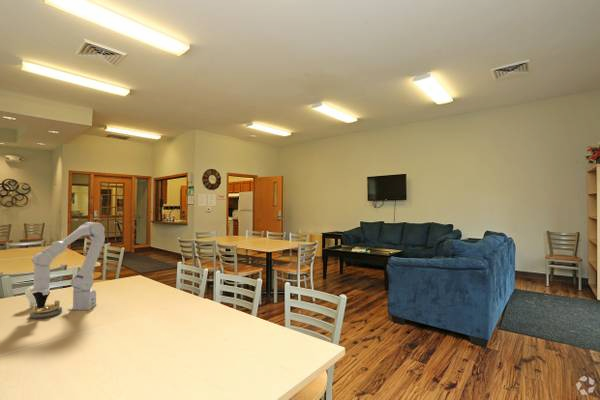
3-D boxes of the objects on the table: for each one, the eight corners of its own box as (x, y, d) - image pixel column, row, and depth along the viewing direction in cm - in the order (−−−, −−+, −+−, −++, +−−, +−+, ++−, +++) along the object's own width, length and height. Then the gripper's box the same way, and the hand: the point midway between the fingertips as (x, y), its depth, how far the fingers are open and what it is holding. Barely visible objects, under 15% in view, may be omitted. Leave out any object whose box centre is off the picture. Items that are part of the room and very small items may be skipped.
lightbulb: (33, 309, 153) (34, 287, 153) (21, 309, 153) (21, 287, 153) (44, 305, 159) (44, 284, 159) (32, 305, 159) (32, 284, 159)
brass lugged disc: (64, 306, 152) (64, 299, 152) (49, 313, 142) (49, 306, 142) (43, 306, 151) (43, 300, 151) (26, 313, 141) (26, 306, 141)
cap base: (67, 310, 153) (68, 305, 153) (49, 319, 141) (49, 314, 141) (43, 310, 152) (43, 306, 152) (22, 319, 140) (22, 314, 140)
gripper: (26, 277, 144) (25, 306, 143) (35, 282, 135) (34, 313, 135) (45, 275, 149) (44, 302, 149) (54, 279, 141) (53, 309, 140)
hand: (40, 307), depth 142 cm, fingers closed
